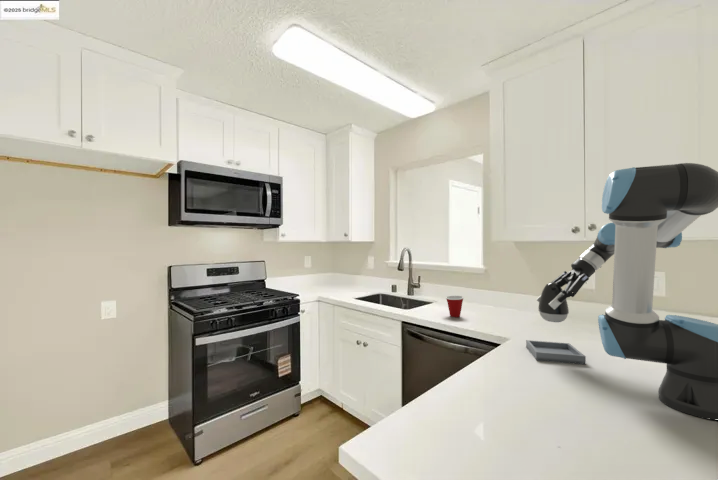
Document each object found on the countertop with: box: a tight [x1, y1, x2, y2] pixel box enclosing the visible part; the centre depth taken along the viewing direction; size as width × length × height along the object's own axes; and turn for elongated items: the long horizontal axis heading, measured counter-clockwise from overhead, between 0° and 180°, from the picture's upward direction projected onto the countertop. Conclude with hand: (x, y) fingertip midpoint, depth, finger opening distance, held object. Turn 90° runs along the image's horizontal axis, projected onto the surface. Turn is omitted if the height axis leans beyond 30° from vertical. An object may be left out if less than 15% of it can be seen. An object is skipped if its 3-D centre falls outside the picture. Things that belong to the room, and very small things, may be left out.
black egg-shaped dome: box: [537, 281, 570, 323], centre depth 125 cm, size 10×10×15 cm
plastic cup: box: [445, 295, 465, 318], centre depth 194 cm, size 11×11×12 cm
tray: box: [525, 339, 587, 365], centre depth 125 cm, size 16×16×3 cm
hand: (544, 304), depth 125 cm, fingers closed on black egg-shaped dome, 10 cm apart
